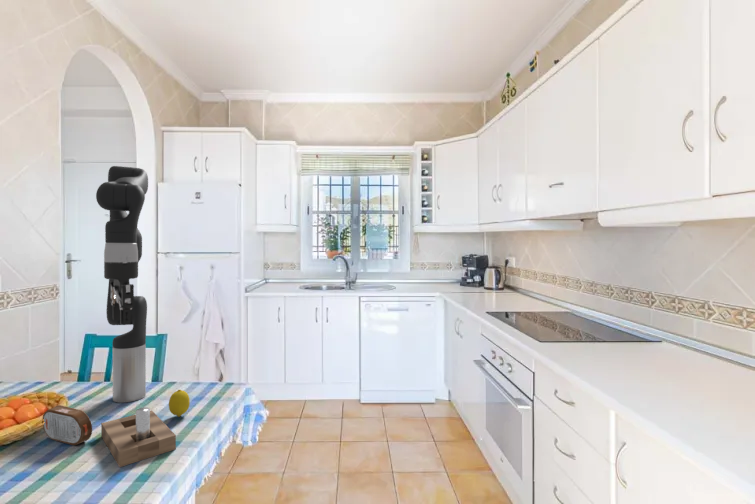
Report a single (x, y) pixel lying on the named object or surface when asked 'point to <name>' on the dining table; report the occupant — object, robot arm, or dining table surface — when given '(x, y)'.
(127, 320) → the robot arm
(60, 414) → the tin
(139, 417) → the peg
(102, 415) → the dining table surface
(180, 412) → the lemon
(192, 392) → the dining table surface
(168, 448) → the hole block
